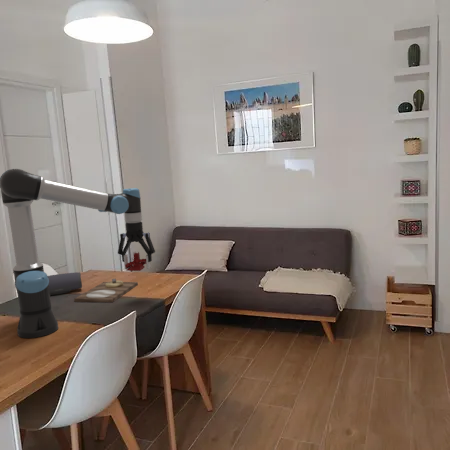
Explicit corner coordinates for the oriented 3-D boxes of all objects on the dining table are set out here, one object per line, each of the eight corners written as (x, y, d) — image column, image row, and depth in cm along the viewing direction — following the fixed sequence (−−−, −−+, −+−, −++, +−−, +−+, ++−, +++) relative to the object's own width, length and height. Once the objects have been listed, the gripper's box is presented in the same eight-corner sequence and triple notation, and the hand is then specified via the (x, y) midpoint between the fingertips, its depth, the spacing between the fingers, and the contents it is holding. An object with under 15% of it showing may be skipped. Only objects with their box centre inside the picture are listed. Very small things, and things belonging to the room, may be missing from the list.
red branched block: (142, 265, 218) (140, 248, 217) (152, 269, 208) (151, 251, 207) (120, 269, 212) (119, 251, 211) (130, 273, 203) (129, 255, 201)
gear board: (112, 302, 212) (111, 292, 212) (74, 301, 217) (73, 291, 216) (137, 284, 241) (137, 275, 241) (103, 284, 246) (102, 275, 245)
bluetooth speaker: (81, 287, 242) (79, 269, 241) (82, 291, 234) (80, 273, 232) (36, 294, 234) (33, 275, 233) (35, 299, 226) (33, 279, 224)
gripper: (160, 220, 208) (163, 266, 211) (114, 221, 213) (118, 266, 216) (154, 222, 201) (157, 270, 204) (107, 223, 206) (111, 270, 209)
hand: (137, 268), depth 210 cm, fingers closed on red branched block, 10 cm apart
